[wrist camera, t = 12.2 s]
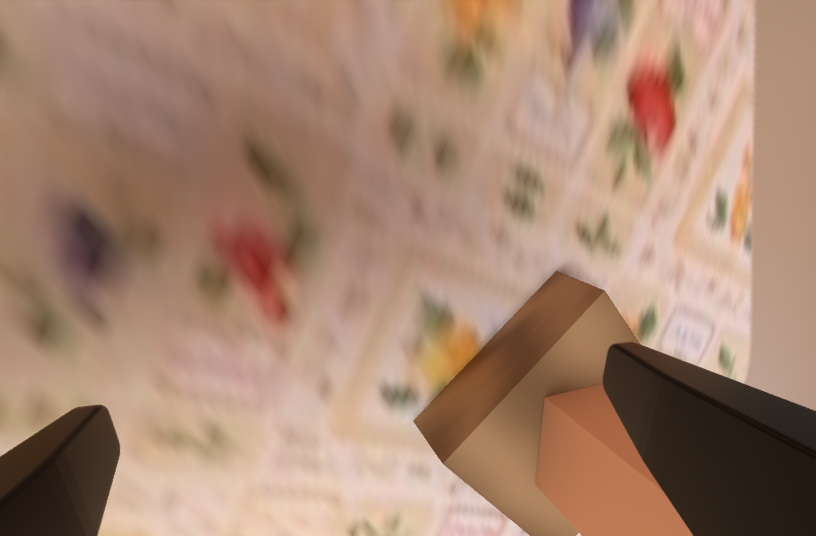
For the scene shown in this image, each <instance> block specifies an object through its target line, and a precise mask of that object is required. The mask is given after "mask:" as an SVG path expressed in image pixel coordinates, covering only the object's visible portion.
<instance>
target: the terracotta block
mask: <svg viewBox="0 0 816 536" xmlns="http://www.w3.org/2000/svg"><path fill="white" fill-rule="evenodd" d="M535 485H536V486H537V487H538V488H539V489H540V490H541V491H542V492H543V493H544V494H545V496H546V497H547V498H548V499H549V500H550V501H551V502H552V503H553V504H554V505H555V506H556V508H557V509H558V510H559V511H560V512H561V513H562V514H563V515H564V516H565V517H566V518H567V520H568V521H569V522H570V523H571V524H572V525H573V526H574V527H575V528H576V529H577V530H578V532H579V533H580V534H581V535H582V536H693V535H692V534H691V532H690V531H689V529H688V528H687V526H686V525H685V523H684V522H683V520H682V519H681V517H680V516H679V514H678V513H677V511H676V510H675V508H674V507H673V505H672V504H671V502H670V501H669V499H668V498H667V496H666V495H665V493H664V492H663V490H662V489H661V488H660V486H659V485H658V483H657V482H656V480H655V479H654V477H653V476H652V474H651V473H650V471H649V470H648V468H647V466H646V465H645V463H644V462H643V460H642V458H641V457H640V455H639V453H638V452H637V450H636V448H635V446H634V444H633V443H632V441H631V439H630V437H629V435H628V433H627V431H626V430H625V428H624V426H623V424H622V422H621V420H620V419H619V417H618V415H617V413H616V411H615V409H614V407H613V406H612V404H611V402H610V400H609V398H608V396H607V395H606V393H605V390H604V387H603V384H600V385H595V386H591V387H587V388H582V389H578V390H574V391H569V392H565V393H561V394H556V395H552V396H548V397H545V398H544V407H543V417H542V426H541V435H540V445H539V454H538V463H537V473H536V482H535Z"/></svg>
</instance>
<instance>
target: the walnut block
mask: <svg viewBox="0 0 816 536" xmlns="http://www.w3.org/2000/svg"><path fill="white" fill-rule="evenodd" d="M621 342H635V343H637V344H640V343H639V342H638V340H637V339H636V337H635V336H634V334H633V333H632V331H631V330H630V328H629V327H628V325H627V324H626V322H625V321H624V319H623V318H622V316H621V315H620V313H619V311H618V310H617V308H616V307H615V305H614V304H613V302H612V301H611V299H610V298H609V296H608V295H607V293H606V292H605V291H604V290H602V289H599V288H597V287H594V286H592V285H589V284H587V283H584V282H582V281H579V280H577V279H574V278H572V277H569V276H567V275H564V274H562V273H560V272H557V271H556V272H555V273H554V274H553V275H552V276H551V277H550V278H549V279H548V280H547V281H546V282H545V283H544V285H543V286H542V287H541V288H540V289H539V290H538V291H537V292H536V293H535V294H534V295H533V296H532V297H531V298H530V299H529V300H528V301H527V302H526V303H525V304H524V306H523V307H522V308H521V309H520V310H519V311H518V312H517V313H516V314H515V315H514V316H513V317H512V318H511V319H510V320H509V321H508V322H507V323H506V324H505V325H504V326H503V328H502V329H501V330H500V331H499V332H498V333H497V334H496V335H495V336H494V337H493V338H492V339H491V340H490V341H489V342H488V343H487V344H486V345H485V346H484V347H483V349H482V350H481V351H480V352H479V353H478V354H477V355H476V356H475V357H474V358H473V359H472V360H471V361H470V362H469V363H468V364H467V365H466V366H465V367H464V368H463V369H462V371H461V372H460V373H459V374H458V375H457V376H456V377H455V378H454V379H453V380H452V381H451V382H450V383H449V384H448V385H447V386H446V387H445V388H444V389H443V390H442V392H441V393H440V394H439V395H438V396H437V397H436V398H435V399H434V400H433V401H432V402H431V403H430V404H429V405H428V406H427V407H426V408H425V409H424V410H423V411H422V412H421V414H420V415H419V416H418V417H417V418H416V419H415V420H414V423H415V424H416V426H417V427H418V429H419V430H420V431H421V433H422V434H423V436H424V437H425V439H426V440H427V442H428V443H429V445H430V446H431V447H432V449H433V450H434V452H435V453H436V455H437V456H438V458H439V459H440V460H441V462H442V463H443V464H444V465H445V466H446V467H447V468H448V469H450V470H451V471H452V472H453V473H455V474H456V475H457V476H458V477H459V478H461V479H462V480H463V481H464V482H466V483H467V484H468V485H469V486H470V487H472V488H473V489H474V490H475V491H476V492H478V493H479V494H480V495H481V496H483V497H484V498H485V499H486V500H487V501H489V502H490V503H491V504H492V505H494V506H495V507H496V508H497V509H498V510H500V511H501V512H502V513H503V514H505V515H506V516H507V517H508V518H509V519H511V520H512V521H513V522H514V523H515V524H517V525H518V526H519V527H520V528H522V529H523V530H524V531H525V532H526V533H528V534H529V535H530V536H576V535H577V534H578V533H579V532H578V530H577V529H576V528H575V527H574V526H573V525H572V524H571V523H570V522H569V521H568V520H567V518H566V517H565V516H564V515H563V514H562V513H561V512H560V511H559V510H558V509H557V508H556V506H555V505H554V504H553V503H552V502H551V501H550V500H549V499H548V498H547V497H546V496H545V494H544V493H543V492H542V491H541V490H540V489H539V488H538V487H537V486H536V485H535V482H536V473H537V463H538V454H539V445H540V435H541V426H542V417H543V407H544V398H545V397H548V396H552V395H556V394H561V393H565V392H569V391H574V390H578V389H582V388H587V387H591V386H595V385H600V384H603V382H602V378H603V372H604V367H605V362H606V356H607V351H608V348H609V347H610V345H612V344H614V343H621Z"/></svg>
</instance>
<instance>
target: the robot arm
mask: <svg viewBox="0 0 816 536" xmlns="http://www.w3.org/2000/svg"><path fill="white" fill-rule="evenodd" d="M602 382H603V387H604V390H605V393H606V395H607V396H608V398H609V400H610V402H611V404H612V406H613V407H614V409H615V411H616V413H617V415H618V417H619V419H620V420H621V422H622V424H623V426H624V428H625V430H626V431H627V433H628V435H629V437H630V439H631V441H632V443H633V444H634V446H635V448H636V450H637V452H638V453H639V455H640V457H641V458H642V460H643V462H644V463H645V465H646V466H647V468H648V470H649V471H650V473H651V474H652V476H653V477H654V479H655V480H656V482H657V483H658V485H659V486H660V488H661V489H662V490H663V492H664V493H665V495H666V496H667V498H668V499H669V501H670V502H671V504H672V505H673V507H674V508H675V510H676V511H677V513H678V514H679V516H680V517H681V519H682V520H683V522H684V523H685V525H686V526H687V528H688V529H689V531H690V532H691V534H692V535H693V536H816V411H814V410H812V409H809V408H806V407H804V406H801V405H798V404H796V403H793V402H790V401H788V400H785V399H782V398H780V397H777V396H774V395H772V394H769V393H767V392H764V391H761V390H759V389H756V388H753V387H751V386H748V385H745V384H743V383H740V382H738V381H735V380H732V379H730V378H727V377H724V376H722V375H719V374H717V373H714V372H711V371H709V370H706V369H703V368H701V367H698V366H695V365H693V364H690V363H688V362H685V361H682V360H680V359H677V358H674V357H672V356H669V355H666V354H664V353H661V352H659V351H656V350H653V349H651V348H648V347H645V346H643V345H640V344H637V343H635V342H621V343H614V344H612V345H610V347H609V348H608V351H607V356H606V362H605V367H604V372H603V378H602ZM119 456H120V443H119V440H118V437H117V434H116V431H115V428H114V425H113V422H112V419H111V416H110V413H109V411H108V409H107V408H106V407H105V406H103V405H92V406H84V407H77V408H74V409H72V410H71V411H69V412H68V413H66V414H65V415H63V416H62V417H60V418H59V419H57V420H56V421H54V422H53V423H51V424H49V425H48V426H46V427H45V428H43V429H42V430H40V431H39V432H37V433H36V434H34V435H33V436H31V437H30V438H28V439H27V440H25V441H24V442H22V443H20V444H19V445H17V446H16V447H14V448H13V449H11V450H10V451H8V452H7V453H5V454H4V455H2V456H1V457H0V536H98V532H99V529H100V525H101V521H102V518H103V514H104V511H105V507H106V503H107V500H108V496H109V493H110V489H111V485H112V482H113V478H114V475H115V471H116V467H117V464H118V460H119Z"/></svg>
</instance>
